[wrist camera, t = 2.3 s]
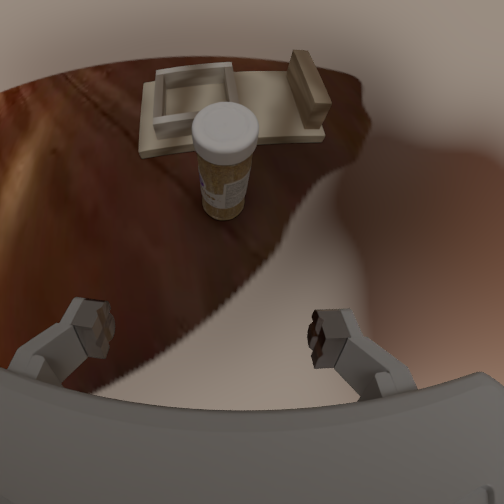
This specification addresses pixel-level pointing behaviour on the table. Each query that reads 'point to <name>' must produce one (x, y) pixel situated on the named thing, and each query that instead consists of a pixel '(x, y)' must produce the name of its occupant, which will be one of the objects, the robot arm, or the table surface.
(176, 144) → the caddy
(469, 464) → the robot arm
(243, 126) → the sprinkles bottle
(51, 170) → the table surface
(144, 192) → the table surface
